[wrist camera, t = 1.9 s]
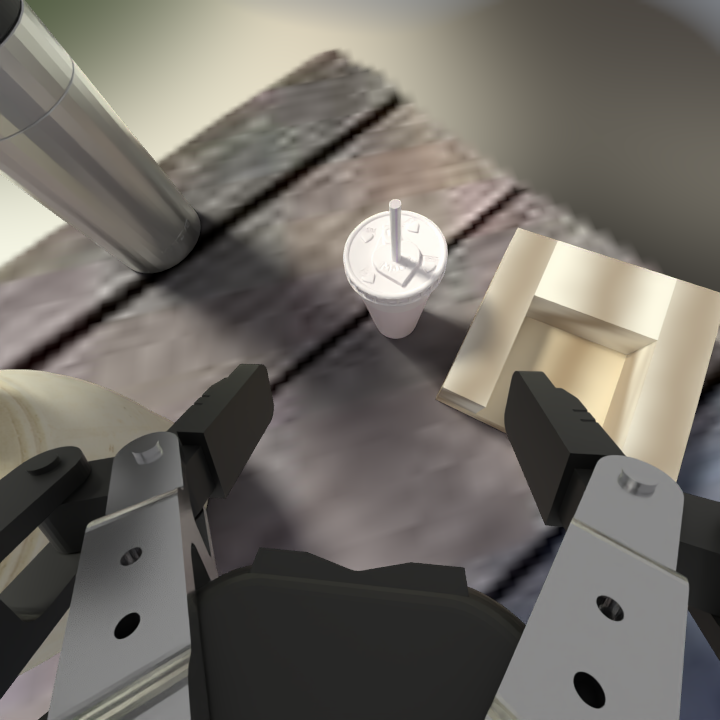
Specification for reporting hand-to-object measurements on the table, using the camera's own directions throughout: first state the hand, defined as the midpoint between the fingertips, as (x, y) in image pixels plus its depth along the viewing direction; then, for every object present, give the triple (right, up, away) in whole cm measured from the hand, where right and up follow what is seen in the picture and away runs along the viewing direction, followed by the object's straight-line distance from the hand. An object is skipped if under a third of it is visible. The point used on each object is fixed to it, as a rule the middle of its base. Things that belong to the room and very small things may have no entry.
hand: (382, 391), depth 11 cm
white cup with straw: (+2, +5, +18) cm, 19 cm away
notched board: (+15, +1, +15) cm, 21 cm away
